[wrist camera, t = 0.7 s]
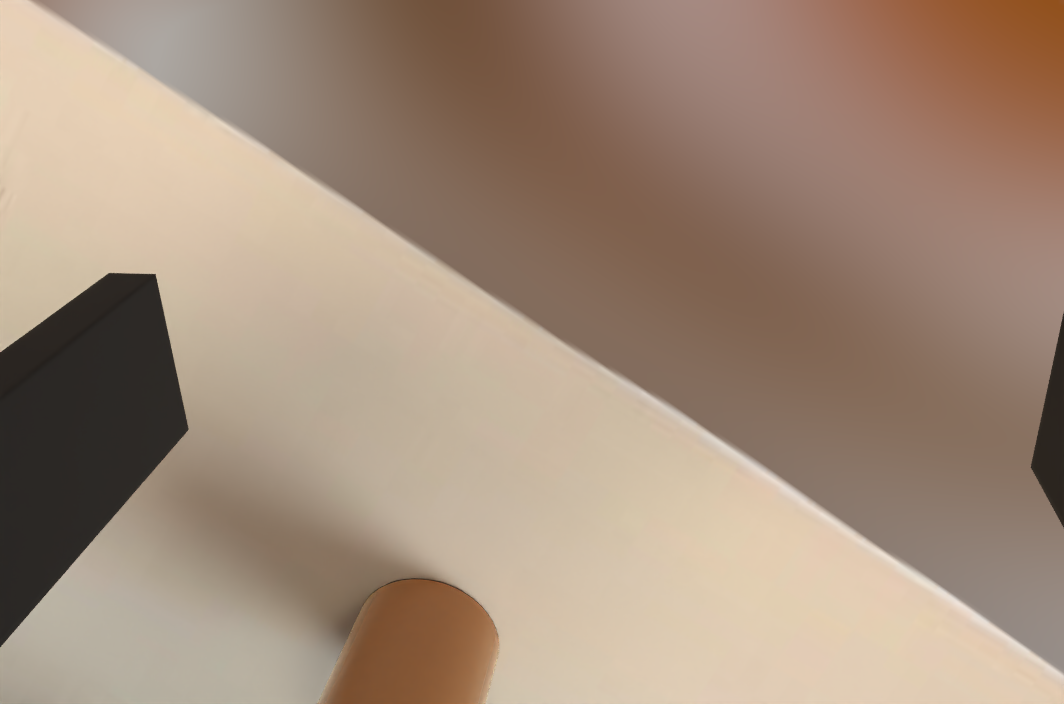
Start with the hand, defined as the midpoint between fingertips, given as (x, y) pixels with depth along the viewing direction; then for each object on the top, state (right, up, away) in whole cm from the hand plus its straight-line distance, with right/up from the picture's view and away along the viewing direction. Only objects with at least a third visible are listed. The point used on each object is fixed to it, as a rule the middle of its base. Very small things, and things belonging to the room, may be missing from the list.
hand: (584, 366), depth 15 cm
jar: (-5, -12, +30) cm, 33 cm away
